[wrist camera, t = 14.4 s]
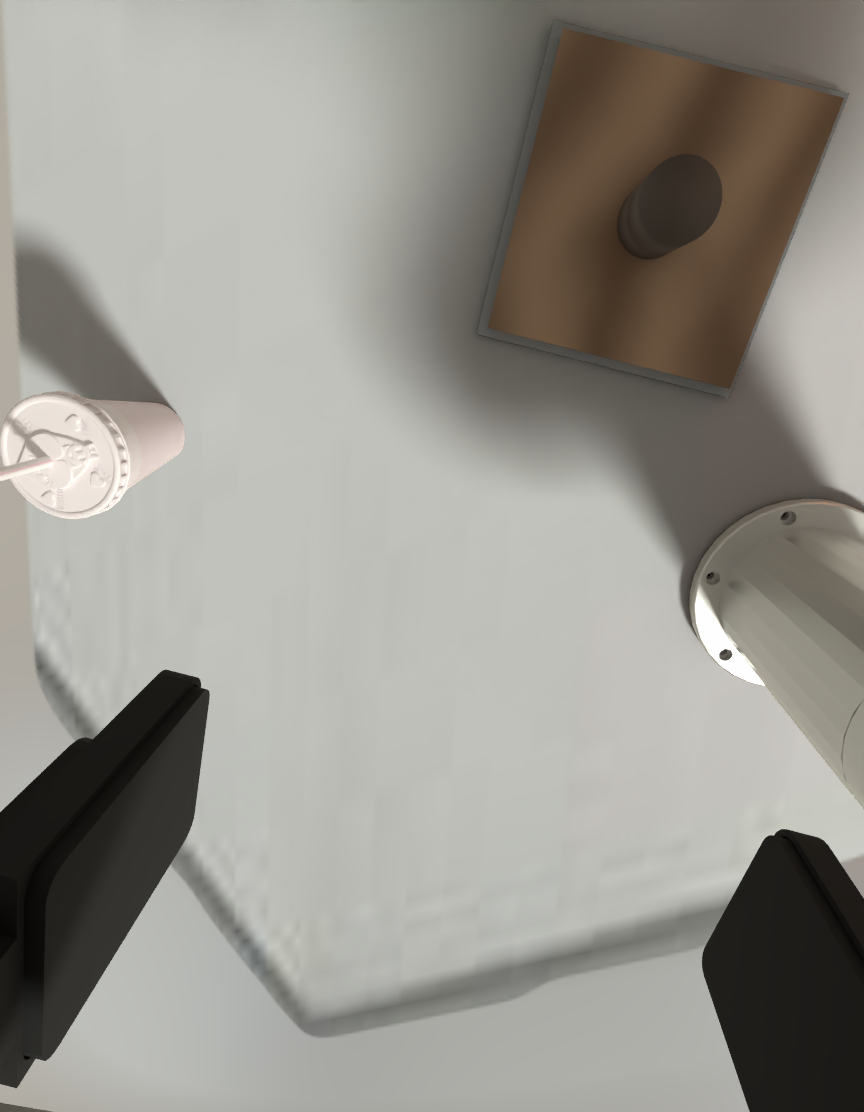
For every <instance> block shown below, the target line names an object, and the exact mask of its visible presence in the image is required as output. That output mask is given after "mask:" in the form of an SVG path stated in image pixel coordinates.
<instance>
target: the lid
mask: <svg viewBox="0 0 864 1112" xmlns="http://www.w3.org/2000/svg"><path fill="white" fill-rule="evenodd" d="M843 100H844V98H843V97H839V96H835V95H831V94H827V93H823V92H819V91H815V90H811V89H807V88H803V87H799V86H795V85H791V84H787V83H783V82H779V81H775V80H770V79H766V78H762V77H758V76H754V75H750V74H746V73H742V72H738V71H734V70H730V69H726V68H722V67H718V66H714V65H710V64H706V63H702V62H698V61H694V60H690V59H686V58H682V57H678V56H674V55H670V54H666V53H662V52H658V51H654V50H650V49H646V48H642V47H638V46H634V45H630V44H626V43H622V42H618V41H614V40H610V39H606V38H602V37H598V36H594V35H590V34H586V33H581V32H577V31H573V30H569V29H565V28H563V31H562V35H561V39H560V43H559V47H558V51H557V55H556V59H555V63H554V67H553V70H552V74H551V78H550V82H549V86H548V90H547V94H546V98H545V102H544V106H543V110H542V114H541V118H540V122H539V126H538V130H537V134H536V138H535V142H534V146H533V150H532V154H531V158H530V162H529V166H528V170H527V174H526V178H525V182H524V186H523V190H522V194H521V198H520V202H519V206H518V210H517V214H516V218H515V221H514V225H513V229H512V233H511V237H510V241H509V245H508V249H507V253H506V257H505V261H504V265H503V269H502V273H501V277H500V281H499V285H498V289H497V293H496V297H495V301H494V305H493V309H492V313H491V317H490V321H489V325H488V328H490V329H494V330H498V331H502V332H506V333H510V334H514V335H518V336H522V337H526V338H530V339H534V340H538V341H542V342H546V343H549V344H553V345H557V346H561V347H565V348H569V349H573V350H577V351H581V352H585V353H589V354H593V355H597V356H601V357H605V358H609V359H613V360H617V361H621V362H625V363H629V364H633V365H637V366H641V367H645V368H648V369H652V370H656V371H660V372H664V373H668V374H672V375H676V376H680V377H684V378H688V379H692V380H696V381H700V382H704V383H708V384H712V385H716V386H720V387H724V388H729V389H730V387H731V385H732V382H733V380H734V377H735V374H736V372H737V369H738V367H739V364H740V362H741V359H742V357H743V354H744V352H745V349H746V347H747V344H748V341H749V339H750V336H751V334H752V331H753V329H754V326H755V324H756V321H757V319H758V316H759V313H760V311H761V308H762V306H763V303H764V301H765V298H766V296H767V293H768V291H769V288H770V285H771V283H772V280H773V278H774V275H775V273H776V270H777V268H778V265H779V263H780V260H781V258H782V255H783V252H784V250H785V247H786V245H787V242H788V240H789V237H790V235H791V232H792V230H793V227H794V224H795V222H796V219H797V217H798V214H799V212H800V209H801V207H802V204H803V202H804V199H805V197H806V194H807V191H808V189H809V186H810V184H811V181H812V179H813V176H814V174H815V171H816V169H817V166H818V163H819V161H820V158H821V156H822V153H823V151H824V148H825V146H826V143H827V141H828V138H829V135H830V133H831V130H832V128H833V125H834V123H835V120H836V118H837V115H838V113H839V110H840V108H841V105H842V102H843Z"/></svg>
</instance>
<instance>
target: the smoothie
mask: <svg viewBox="0 0 864 1112" xmlns="http://www.w3.org/2000/svg"><path fill="white" fill-rule="evenodd" d="M184 443H185V429H184V426H183V423H182V421H181V419H180V418H179V417H178V415H177V414H176V413H175V412H174V411H173V410H172V409H170V408H169V407H167V406H165V405H163V404H159V403H148V402H130V401H112V400H95V399H86V398H84V397H82V396H80V395H77V394H74V393H68V392H62V391H56V392H47V393H43V394H39V395H34V396H31V397H28V398H26V399H24V400H22V401H20V402H19V403H18V404H16V405H15V406H14V407H13V408H12V409H11V410H10V412H9V413H8V414H7V416H6V418H5V420H4V422H3V425H2V429H1V433H0V453H1V458H2V461H3V464H4V467H2V468H0V481H2V480H6V479H10V480H11V481H12V483H13V484H14V486H15V487H16V489H17V490H18V491H19V492H20V493H21V494H22V495H23V496H24V497H25V498H26V499H27V500H28V501H29V502H30V503H32V504H33V505H34V506H36V507H37V508H39V509H40V510H42V511H44V512H46V513H49V514H51V515H54V516H57V517H61V518H67V519H80V518H86V517H89V516H92V515H96V514H99V513H101V512H104V511H106V510H109V509H110V508H111V507H112V506H114V505H115V504H116V503H117V502H118V501H119V500H120V499H121V497H122V496H123V494H124V493H125V491H126V490H127V489H128V488H130V487H131V486H133V485H134V484H136V483H137V482H139V481H140V480H142V479H143V478H145V477H146V476H147V475H149V474H150V473H152V472H153V471H155V470H156V469H158V468H159V467H161V466H162V465H164V464H165V463H167V462H168V461H169V460H171V459H172V458H174V457H175V456H177V455H178V454H179V453H180V452H181V450H182V448H183V446H184Z"/></svg>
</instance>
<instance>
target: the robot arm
mask: <svg viewBox="0 0 864 1112" xmlns="http://www.w3.org/2000/svg"><path fill="white" fill-rule="evenodd" d="M785 512H786V514H785V516H784V517H783V518H781V516H782V515H783V513H785ZM711 572H712V574H711V576H709V577H706V576H707V575H708V574H709V573H711ZM689 610H690V615H691V621H692V626H693V628H694V630H695V632H696V635H697V637H698V639H699V641H700V642H701V644H702V645H703V647H704V648H705V650H706V652H707V653H708V654H709V655H710V656H711V658H712V659H713V660H714V661H715V662H716V663H717V664H718V665H719V666H721V667H722V668H723V669H725V670H726V671H728V672H729V673H730V674H732V675H734V676H736V677H738V678H740V679H743V680H745V681H747V682H750V683H754V684H758V685H762V686H766V687H767V689H768V690H769V691H770V692H771V694H772V695H773V696H774V697H775V699H776V700H777V701H778V702H779V704H780V705H781V706H782V707H783V709H784V710H785V711H786V713H787V714H788V715H789V716H790V718H791V719H792V720H793V721H794V723H795V724H796V725H797V726H798V728H799V729H800V730H801V731H802V733H803V734H804V735H805V736H806V738H807V739H808V740H809V741H810V743H811V744H812V745H813V746H814V748H815V749H816V750H817V751H818V753H819V754H820V755H821V756H822V758H823V759H824V760H825V762H826V763H827V764H828V765H829V767H830V768H831V769H832V770H833V772H834V773H835V774H836V775H837V777H838V778H839V779H840V780H841V782H842V783H843V784H844V785H845V787H846V788H847V789H848V790H849V792H850V793H851V794H852V795H853V796H854V798H855V799H856V800H857V801H858V802H859V803H860V805H861V806H862V807H863V808H864V512H862V511H860V510H858V509H855V508H853V507H851V506H848V505H846V504H842V503H838V502H834V501H830V500H823V499H807V498H806V499H797V500H789V501H783V502H780V503H776V504H773V505H769V506H766V507H763V508H761V509H759V510H757V511H755V512H753V513H751V514H749V515H746V516H745V517H743V518H742V519H740V520H739V521H737V522H736V523H735V524H733V525H732V526H730V527H729V528H728V529H727V530H726V531H725V532H723V533H722V534H721V535H720V536H719V537H718V538H717V539H716V540H715V541H714V542H713V544H712V545H711V546H710V548H709V549H708V551H707V552H706V553H705V555H704V556H703V557H702V559H701V562H700V564H699V566H698V568H697V570H696V572H695V574H694V578H693V582H692V586H691V590H690V604H689ZM721 650H723V651H721ZM209 695H210V694H209V691H208V690H207V689H203V688H201V682H200V679H199V678H197V677H193V676H189V675H185V674H181V673H177V672H174V671H170V670H163V671H162V672H160V673H159V674H158V675H157V676H156V677H155V678H154V679H153V680H152V681H151V682H150V683H149V684H148V685H147V686H146V687H145V688H144V689H143V690H142V691H141V692H140V693H139V694H138V695H137V696H136V697H135V698H134V699H133V700H132V701H131V702H130V703H129V704H128V705H127V706H126V707H125V708H124V709H123V710H122V711H121V712H120V713H119V714H118V715H117V716H116V717H115V718H114V719H113V720H112V721H111V722H110V723H109V724H108V725H107V726H106V727H105V728H104V729H103V730H102V731H101V732H100V733H99V734H98V735H97V736H96V737H95V738H94V739H89V738H86V737H84V738H81V739H78V740H77V741H75V742H74V743H73V744H72V745H70V746H69V747H68V748H67V749H66V750H65V751H64V752H63V753H62V754H61V755H60V756H59V757H57V759H55V760H54V761H53V763H51V764H50V765H49V766H48V767H47V768H46V769H45V770H44V771H43V772H42V773H41V774H40V775H39V776H38V777H37V778H36V779H35V780H33V782H31V783H30V784H29V785H28V786H27V787H26V788H25V789H24V790H23V791H22V792H21V793H20V794H19V795H18V796H17V797H16V798H15V799H14V800H13V801H12V802H11V803H10V804H9V805H8V806H6V807H5V808H4V809H3V810H2V811H1V812H0V1084H3V1085H6V1086H10V1087H14V1088H17V1087H18V1086H19V1084H20V1082H21V1081H22V1079H23V1078H24V1076H25V1074H26V1073H27V1071H28V1070H29V1068H30V1067H31V1065H32V1063H33V1062H34V1060H35V1059H40V1060H44V1061H46V1060H47V1059H49V1058H50V1057H51V1055H52V1054H53V1053H54V1052H55V1050H56V1049H57V1047H58V1046H59V1044H60V1043H61V1041H62V1040H63V1038H64V1036H65V1035H66V1033H67V1031H68V1030H69V1028H70V1026H71V1025H72V1023H73V1022H74V1020H75V1018H76V1017H77V1015H78V1014H79V1012H80V1010H81V1009H82V1007H83V1005H84V1004H85V1002H86V1001H87V999H88V997H89V996H90V994H91V992H92V991H93V989H94V988H95V986H96V984H97V982H98V981H99V979H100V978H101V976H102V974H103V973H104V971H105V970H106V968H107V966H108V965H109V963H110V961H111V960H112V958H113V957H114V955H115V953H116V952H117V950H118V948H119V947H120V945H121V944H122V942H123V940H124V939H125V937H126V935H127V934H128V932H129V930H130V929H131V927H132V926H133V924H134V922H135V921H136V919H137V917H138V916H139V914H140V913H141V911H142V909H143V908H144V906H145V904H146V903H147V901H148V899H149V898H150V896H151V895H152V893H153V891H154V890H155V888H156V887H157V885H158V883H159V881H160V880H161V878H162V877H163V875H164V874H165V872H166V870H167V869H168V867H169V865H170V864H171V862H172V861H173V859H174V857H175V856H176V854H177V852H178V851H179V849H180V848H181V846H182V844H183V843H184V841H185V839H186V837H187V835H188V833H189V831H190V828H191V826H192V822H193V819H194V813H195V806H196V798H197V790H198V782H199V775H200V767H201V759H202V751H203V744H204V736H205V728H206V720H207V713H208V705H209ZM702 968H703V973H704V977H705V979H706V983H707V986H708V989H709V992H710V995H711V998H712V1001H713V1004H714V1007H715V1009H716V1013H717V1016H718V1019H719V1022H720V1025H721V1028H722V1030H723V1034H724V1037H725V1039H726V1042H727V1045H728V1048H729V1051H730V1054H731V1057H732V1060H733V1063H734V1066H735V1069H736V1072H737V1075H738V1078H739V1081H740V1084H741V1087H742V1090H743V1093H744V1096H745V1099H746V1102H747V1105H748V1108H749V1111H750V1112H864V898H863V897H862V896H861V894H860V892H859V891H858V889H857V888H856V886H855V885H854V884H853V882H852V880H851V879H850V878H849V876H848V874H847V873H846V872H845V870H844V868H843V867H842V866H841V864H840V862H839V861H838V859H837V858H836V856H835V855H834V853H833V852H832V850H831V849H830V848H829V846H828V845H827V844H826V843H825V841H824V840H822V839H820V838H818V837H814V836H810V835H806V834H802V833H798V832H794V831H791V830H787V829H781V830H779V831H778V832H776V834H775V835H774V836H768V837H766V838H765V839H764V841H763V842H762V844H761V846H760V848H759V849H758V851H757V853H756V855H755V857H754V859H753V860H752V862H751V864H750V866H749V868H748V870H747V871H746V873H745V875H744V877H743V879H742V880H741V882H740V884H739V886H738V888H737V890H736V891H735V893H734V895H733V897H732V899H731V901H730V902H729V904H728V906H727V908H726V910H725V911H724V913H723V915H722V917H721V919H720V921H719V922H718V924H717V926H716V928H715V930H714V932H713V933H712V935H711V937H710V939H709V941H708V942H707V944H706V946H705V948H704V952H703V956H702ZM0 1112H51V1111H45V1110H39V1109H33V1108H27V1107H22V1106H15V1105H10V1104H3V1103H0Z"/></svg>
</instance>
